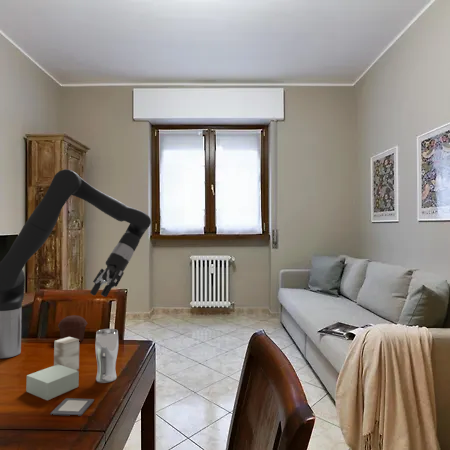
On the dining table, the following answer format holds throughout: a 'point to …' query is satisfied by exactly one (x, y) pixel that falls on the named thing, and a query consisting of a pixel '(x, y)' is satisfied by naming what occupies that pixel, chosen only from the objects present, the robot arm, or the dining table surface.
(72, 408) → the tile
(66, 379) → the sage base block
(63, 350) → the ivory block
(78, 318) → the muffin
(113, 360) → the beer glass
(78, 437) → the dining table surface
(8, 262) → the robot arm
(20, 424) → the dining table surface
